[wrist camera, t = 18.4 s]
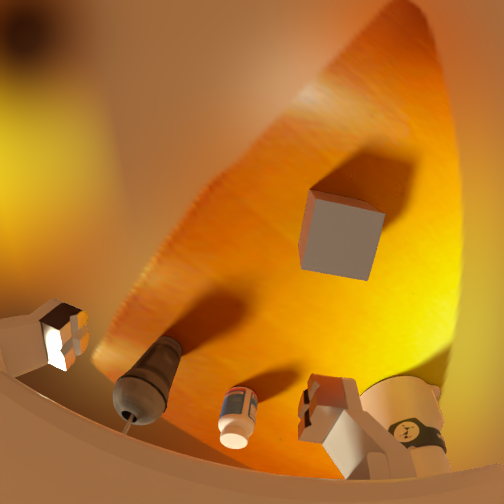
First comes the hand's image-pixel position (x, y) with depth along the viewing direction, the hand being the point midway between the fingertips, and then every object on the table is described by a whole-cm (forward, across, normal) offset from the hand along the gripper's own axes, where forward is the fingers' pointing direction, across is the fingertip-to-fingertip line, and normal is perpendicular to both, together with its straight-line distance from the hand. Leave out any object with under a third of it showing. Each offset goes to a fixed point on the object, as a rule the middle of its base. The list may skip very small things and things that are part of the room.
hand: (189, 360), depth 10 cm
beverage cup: (+29, +9, +24) cm, 39 cm away
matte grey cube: (+29, -9, 0) cm, 31 cm away
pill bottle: (+29, -4, +30) cm, 43 cm away
